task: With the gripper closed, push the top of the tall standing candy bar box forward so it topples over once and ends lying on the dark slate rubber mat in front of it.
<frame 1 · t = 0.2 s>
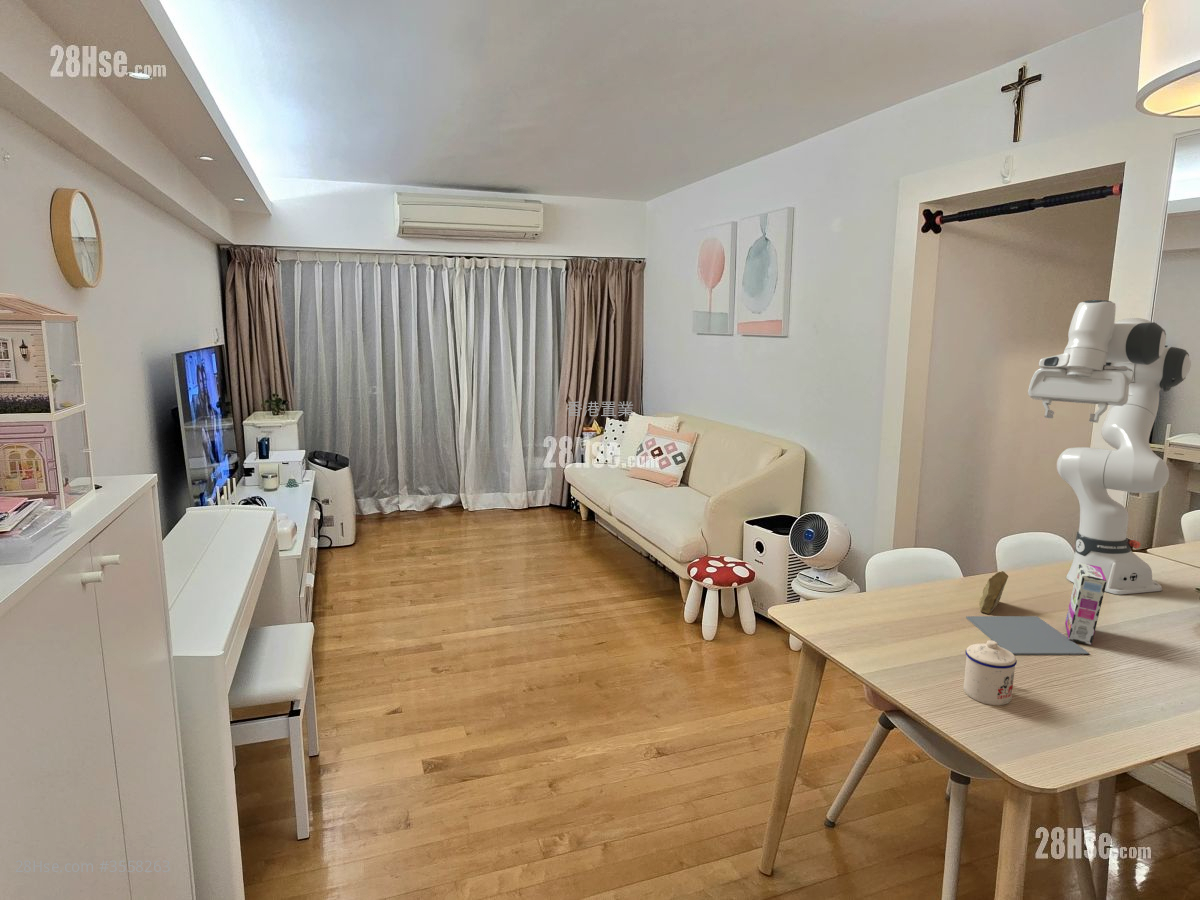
hand: (1070, 419, 167), 51 cm above the table, tool tilted 20°, fingers open, 8 cm apart
teacup with lid: (988, 692, 143), on the table
rock: (986, 607, 184), on the table
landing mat: (1023, 635, 167), on the table
candy bar box: (1078, 635, 167), on the table, touching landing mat
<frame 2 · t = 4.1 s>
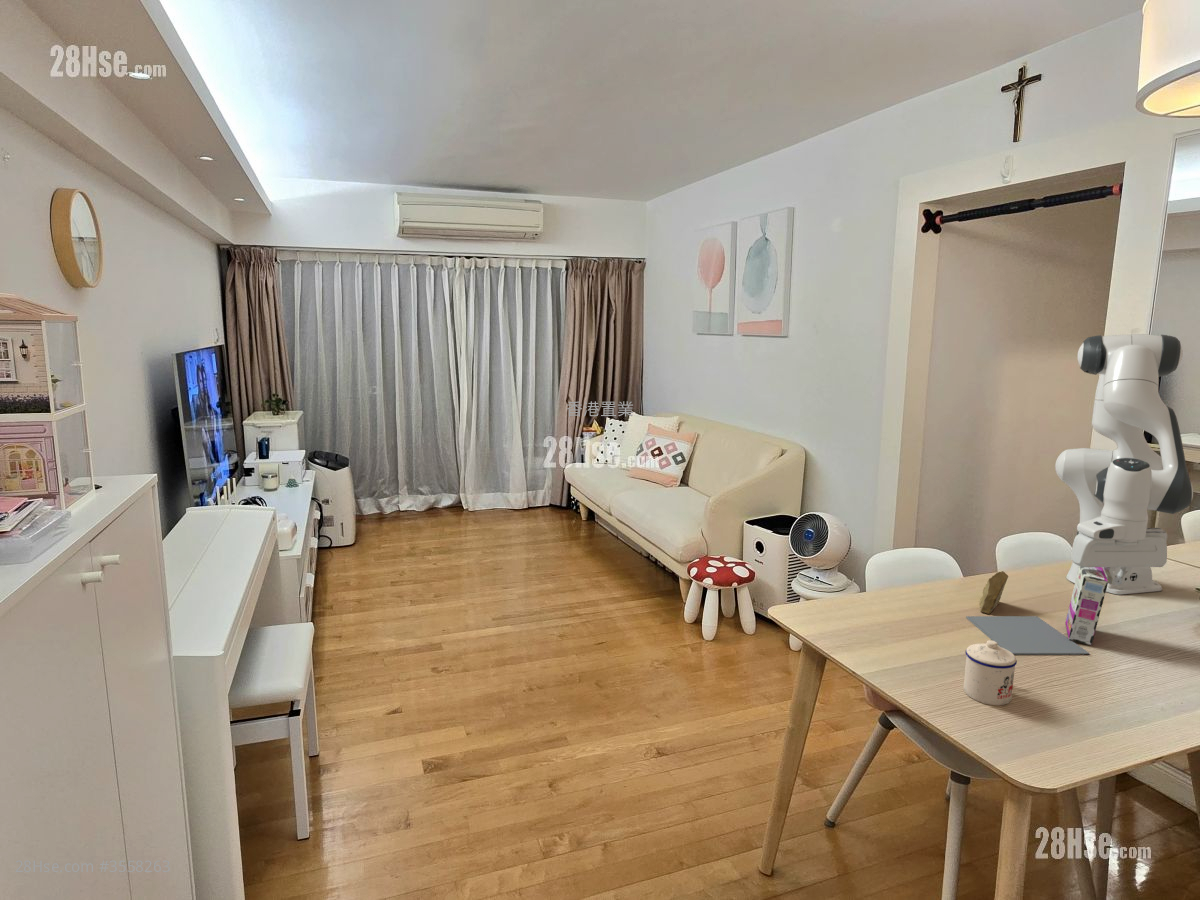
hand: (1115, 583, 164), 13 cm above the table, tool pointing down, fingers closed
nothing on the table moved.
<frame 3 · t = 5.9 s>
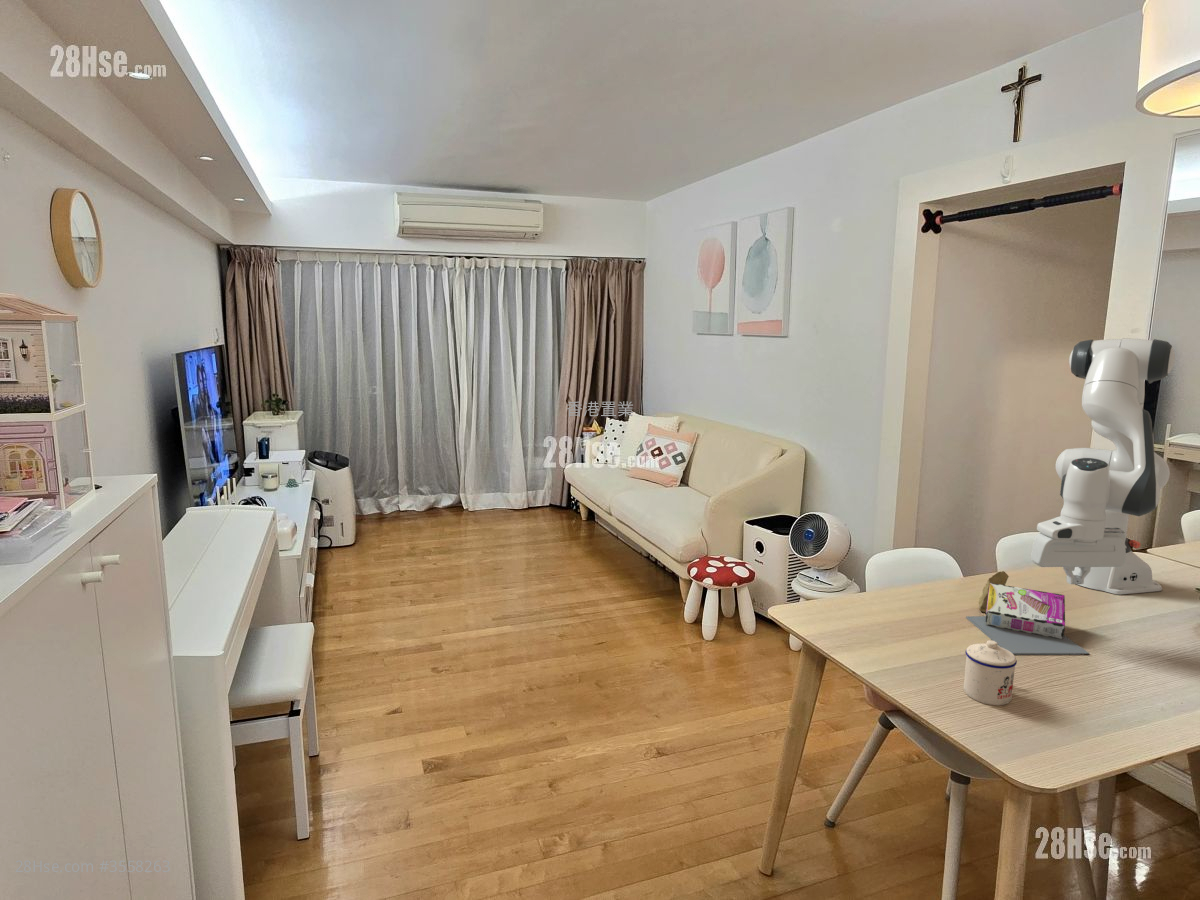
hand: (1074, 583, 165), 13 cm above the table, tool pointing down, fingers closed
candy bar box: (1065, 616, 167), point 5 cm above the table
everything else where it was.
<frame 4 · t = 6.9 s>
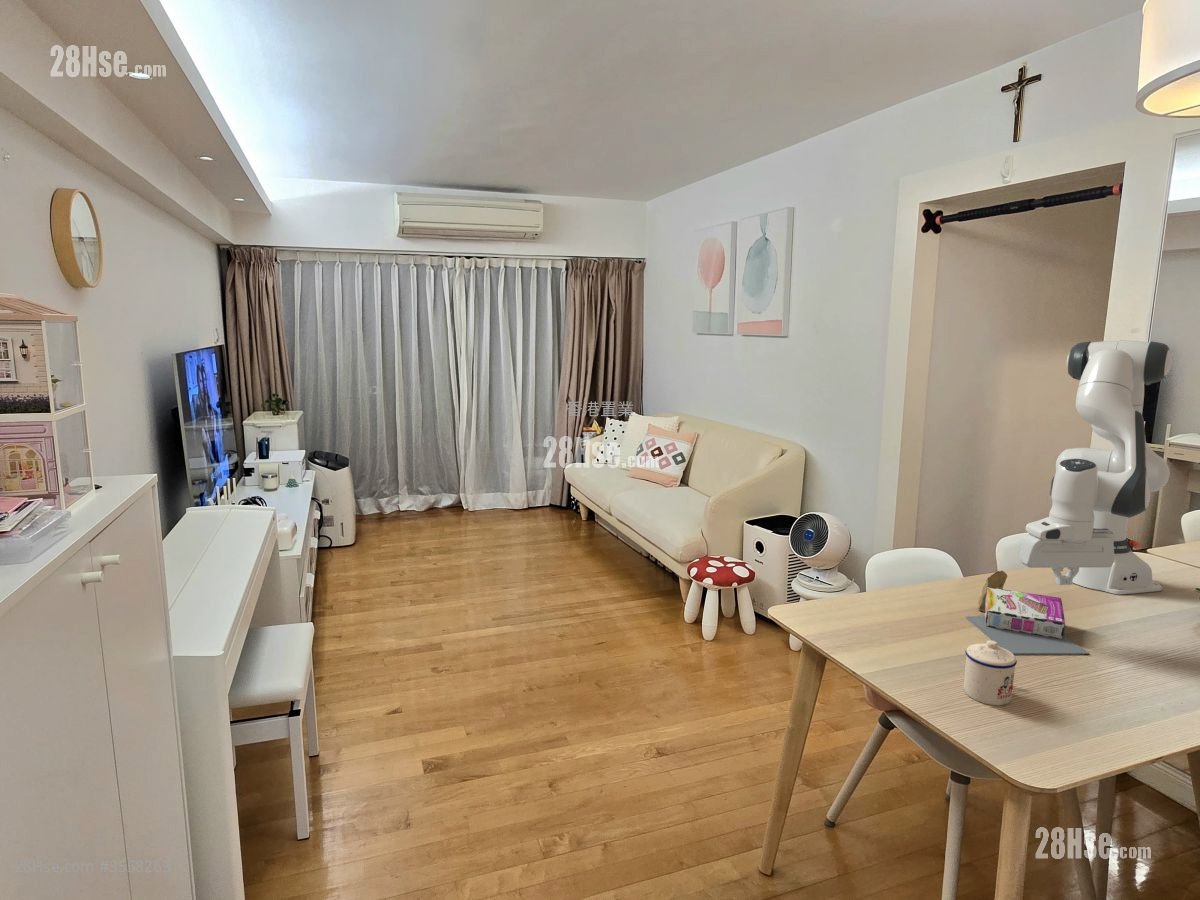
hand: (1063, 584, 165), 13 cm above the table, tool pointing down, fingers closed
rock: (985, 606, 185), on the table, touching candy bar box
candy bar box: (1063, 617, 168), point 4 cm above the table, touching rock, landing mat
everything else where it was.
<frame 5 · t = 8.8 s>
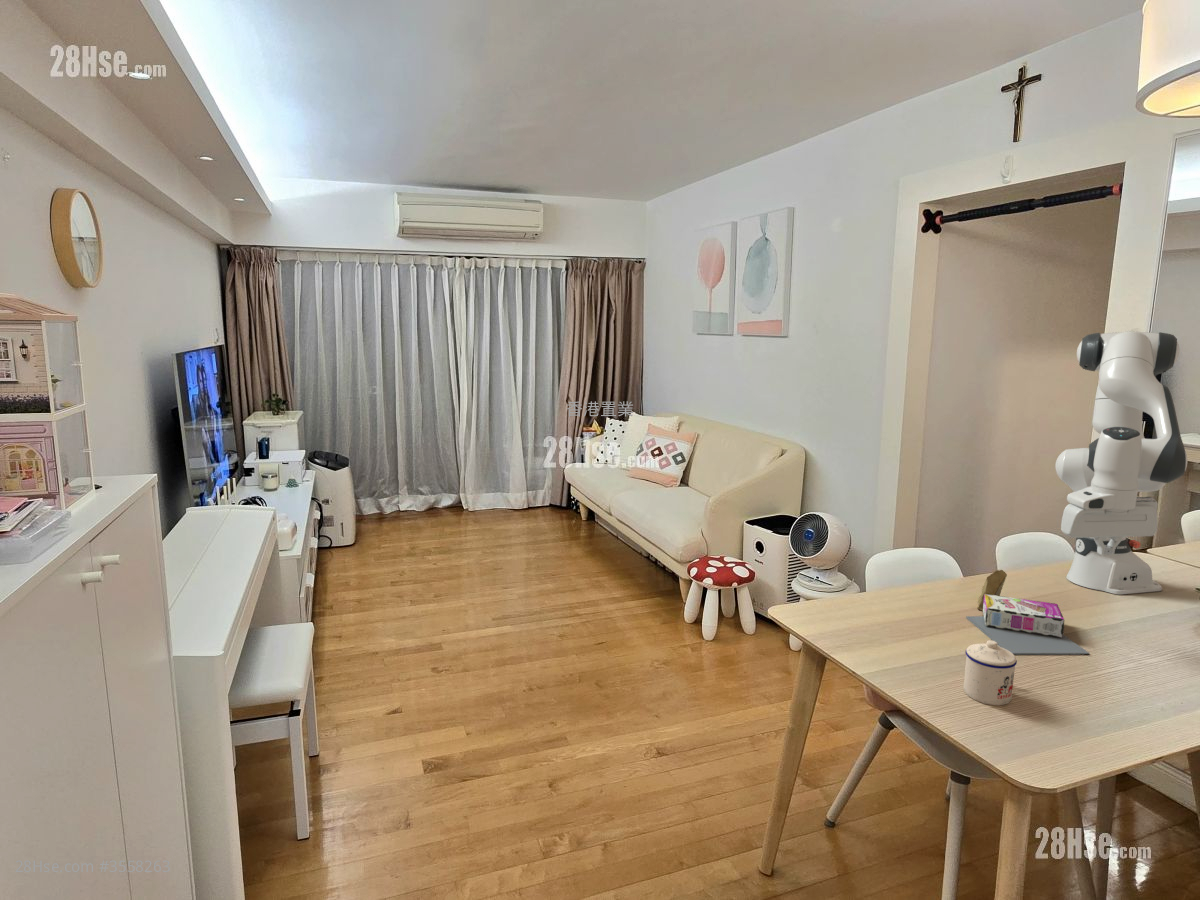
hand: (1105, 553, 164), 21 cm above the table, tool pointing down, fingers closed
rock: (985, 605, 186), on the table
candy bar box: (1061, 619, 169), point 3 cm above the table, touching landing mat
everything else where it was.
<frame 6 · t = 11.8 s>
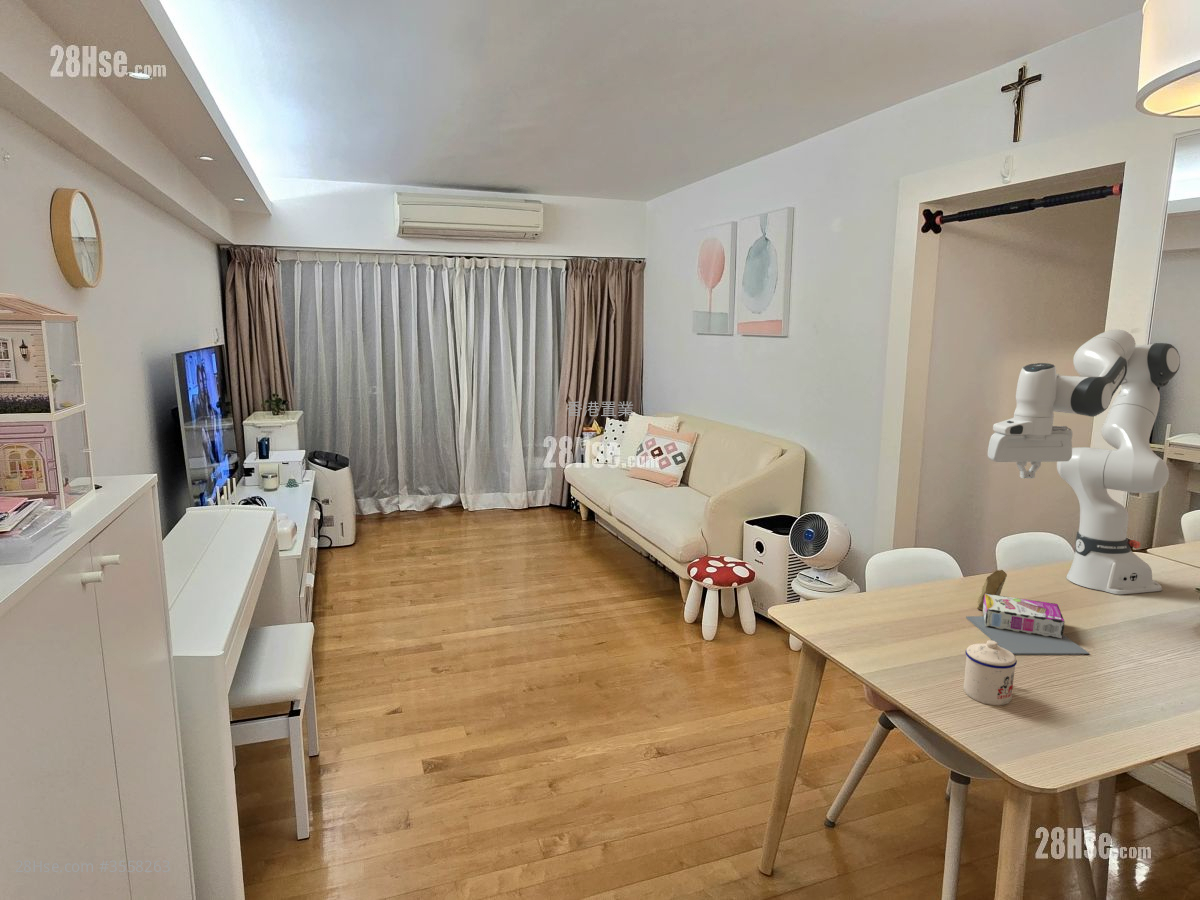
hand: (1027, 477, 182), 34 cm above the table, tool pointing down, fingers closed
nothing on the table moved.
at the end: candy bar box tilted 91°; candy bar box touching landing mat; candy bar box inside the target area (7.2 cm from its centre), point 2.9 cm above the table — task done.
